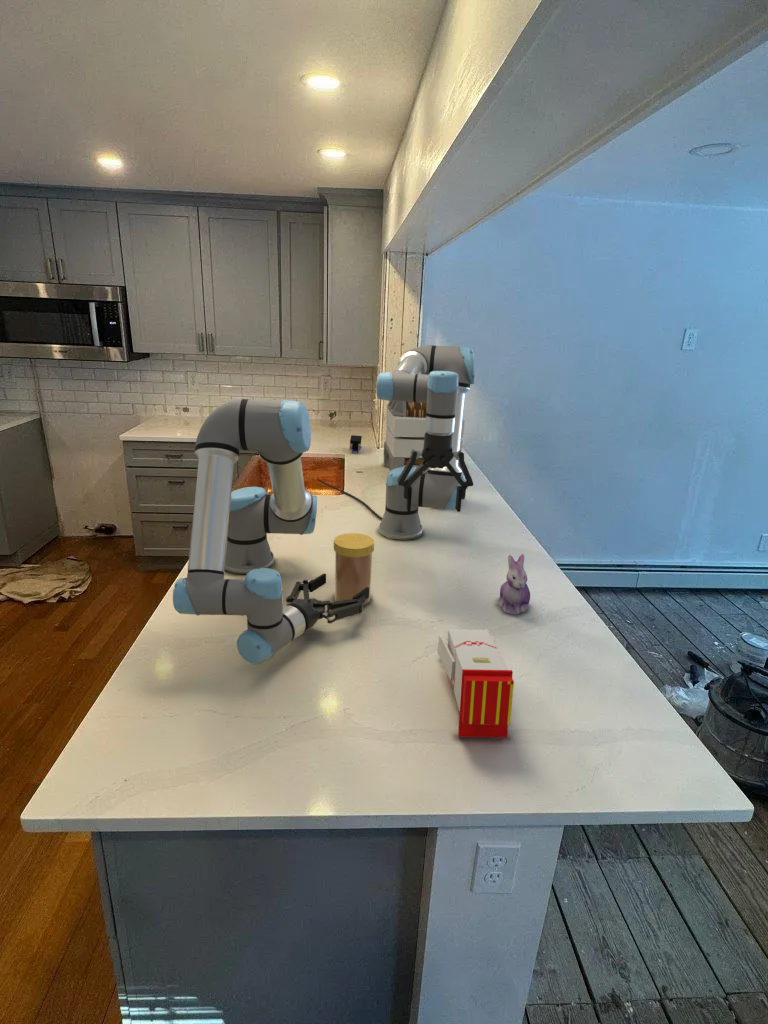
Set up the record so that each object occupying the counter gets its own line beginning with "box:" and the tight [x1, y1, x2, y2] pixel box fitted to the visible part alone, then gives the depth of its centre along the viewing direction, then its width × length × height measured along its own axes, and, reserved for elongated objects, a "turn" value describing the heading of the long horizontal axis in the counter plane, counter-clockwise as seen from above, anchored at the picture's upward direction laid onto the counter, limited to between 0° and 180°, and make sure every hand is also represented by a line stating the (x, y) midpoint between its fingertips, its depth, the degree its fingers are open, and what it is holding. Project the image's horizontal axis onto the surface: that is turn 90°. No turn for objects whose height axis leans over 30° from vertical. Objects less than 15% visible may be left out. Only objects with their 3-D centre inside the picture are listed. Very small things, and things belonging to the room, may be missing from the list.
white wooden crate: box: [383, 401, 465, 472], centre depth 268 cm, size 34×33×41 cm
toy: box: [437, 628, 515, 738], centre depth 117 cm, size 12×13×30 cm
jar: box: [334, 552, 373, 606], centre depth 151 cm, size 10×10×17 cm
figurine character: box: [349, 434, 363, 454], centre depth 310 cm, size 7×8×15 cm
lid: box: [333, 532, 375, 557], centre depth 149 cm, size 11×11×2 cm
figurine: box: [498, 553, 531, 615], centre depth 151 cm, size 9×10×15 cm
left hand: (346, 585), depth 149 cm, fingers open, 13 cm apart
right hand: (433, 510), depth 154 cm, fingers open, 13 cm apart
